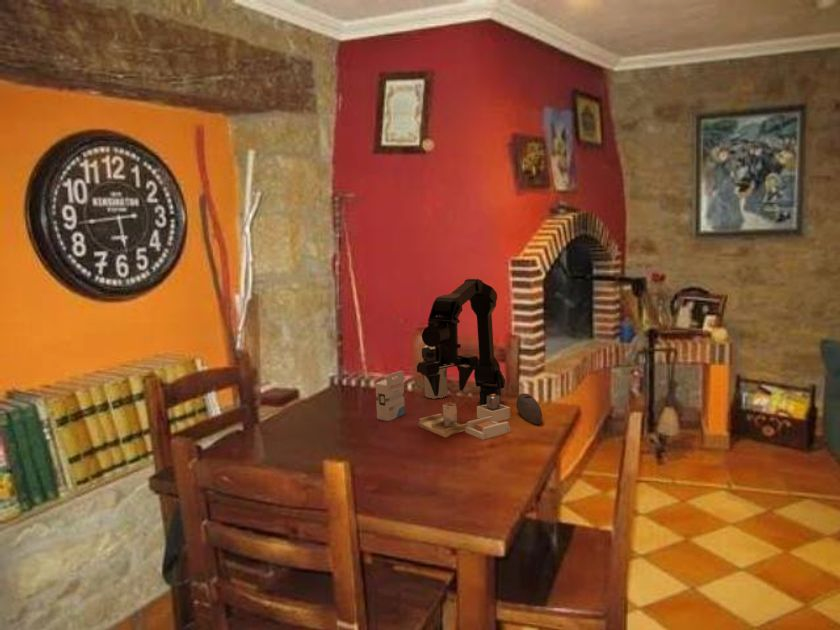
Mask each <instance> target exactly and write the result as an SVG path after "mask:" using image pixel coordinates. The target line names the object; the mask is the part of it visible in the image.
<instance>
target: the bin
mask: <svg viewBox="0 0 840 630" xmlns="http://www.w3.org/2000/svg"><path fill="white" fill-rule="evenodd" d="M488 416H492V417H493V421H495V422H497V423H500V422H504V421H506V420H509V419H511V407H510V406H507V405H504V404H500V409H499V410H495V411H491V410H488V409H487V404H486V405H482V404H481V405H478V406H476V419H480V418H484V417H488Z"/></svg>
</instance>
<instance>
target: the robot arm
mask: <svg viewBox="0 0 840 630" xmlns="http://www.w3.org/2000/svg"><path fill="white" fill-rule="evenodd" d="M497 300H498V293H497V292H496V290H495V289H494V288H493V286H491V285H489V284H486V283H485V282H483V280H482V279H480V278H467V279H465V280H464V282H463V283H462V284H461V285H460V286H458V287H457V288H455V290H453V291H452V292H450V293H449V294H443V295H439V296H437V297H436V298H435V299H434V301H433V303H432V307H431V309H430V313H429V316H428V320H427V326H425V328H423V331H422V333H421V339H422V342H423V343H424V344H425V345H427V346H430V347H434V346H435V349H430V348H429V347H427V348H424V347H423V348H421V357H422V359H423V361H419V362H418V363H417V364H416V373H420V374H421V375H422V376H424V375H425V376H426V377H427V379H428V380H429V382H430V385H431V387H432V390H433V393H434V395H435V396H438V392H439V382H440V374H437V373H438V372H439V369H443V368H453V367H456V369H457V371H458V384H459V385H458V387H459V391H461V392H462V391H464V389H465V387H466V385H467V383H468V380H469V379H470V376H471V375H472V373H474V374H473V375H474V376H473V378H474V381H475V387H480V388H479V389H480V391H479V401H477V404H479V405H481V406H482V405H486V404H487V395H490V394H492V393H494V394H496V395H499V396H500V404H501V405H504V402H503V401H501V399H502V398H501V394H502V393H501V392H502V391H501V389H504V388H505V386H506V378H505V376H504V374H503V372H502V371H501V366H500V363H499V361H498V360H497V358H496V357H495V352H494V351H495V350H494V349H495V348H494V332H493V315H492V314H493V312H494V310H495V309H496V306H497ZM468 301H470V303H469V304H470V308H471V310H472V311H473V313H474V314H475V316H476V324H477V325H476V326H477V341H478V343H477V344H478V356H477V355H473V354H470V353H465V354H459V349H460V348H461V347H462V346H461V344H460V343H459V341H458V338H459V337H458V324H459V323H461V321H460V319H459V317H460V315H461V313H462V312H463V306H464V305H465V304H466V303H467V302H468ZM478 357H479V358H478ZM424 359H427V360H428V361H424ZM433 360H434V361H438V363H435V362H431V361H433ZM445 364H446V365H445Z"/></svg>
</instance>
